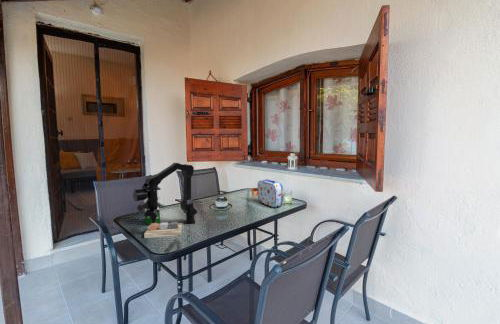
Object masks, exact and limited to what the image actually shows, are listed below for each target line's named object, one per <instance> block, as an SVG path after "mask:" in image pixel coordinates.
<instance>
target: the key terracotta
mask: <svg viewBox="0 0 500 324" xmlns="http://www.w3.org/2000/svg"><path fill="white" fill-rule="evenodd" d="M158 225H159V223H151V224H150V225H149V226H150V231H154V230H157V229H158Z"/></svg>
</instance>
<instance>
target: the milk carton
mask: <svg viewBox="0 0 500 324" xmlns="http://www.w3.org/2000/svg"><path fill="white" fill-rule="evenodd" d="M160 200H161V198H160V196H158V203H160V202H161V201H160ZM146 201H147V198H146V199H145V200H143V203H145V202H146ZM148 210H149V209H148ZM157 210H159V212H158V215H157V218H156V221H155V223H158V224H161V214H160V213H161V212H160V208H159V207H158V208H157ZM145 212H146V209H144V213H145ZM144 223H145V225H148V226H150V224H151V223H152V220H151V217H150V216H146V217H145V216H144Z"/></svg>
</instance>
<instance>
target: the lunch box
mask: <svg viewBox="0 0 500 324" xmlns="http://www.w3.org/2000/svg"><path fill="white" fill-rule="evenodd" d="M283 196H284V188H283V185H282V183H280V182H279V181H276V180H270V179H263V180H259V181H258V182H257V199H258V201H259V202H260V203H261V202H262V204H263V203H264V204H263V205H265V204H266V205H265V206H267V205H268V207H270V206H271V207H270V208H278V207H282V206H283V201H284V198H283ZM277 206H278V207H277Z"/></svg>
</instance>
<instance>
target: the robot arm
mask: <svg viewBox="0 0 500 324" xmlns="http://www.w3.org/2000/svg"><path fill="white" fill-rule="evenodd" d="M178 170H179V171H181V175H182V177H183V199H182V201H180V207H179V208H180V209H181V210H182V212H183V213H184V214H185V224H186V225H189V224H196V219H195V217H196V215H197V214H198V210H197V209H196V208H195V206H194V201H193V200H192V177H193V175H194V171H195V168H194V166H193V165H192V164H187V163H186V164H182V163H180V162H173V163H172V164H170V165H169V166H167V167H166V168H164V169H163V170H161V171H159V172H158V173H156V174H153V175H150V176H148V177H146V178H145V181H144V183H143V185H142V186H141V188H135V189H134V190H133V192H132V193H133V194H132V198H133V201H134V202H139V201H144V200H145V199H146V198H147V201H146V202H145V203H144V202H143V203H140V204H138V205H137V206H136V208H137V209H136V210H138V212H142V211H143V210H144V215H143V216H144V218H145V217H146V216H150V217H151V220H152V223H155V221H156V218H157V215H158V212H159V210H157V208H158V207H159V208H161V207H162V205H161V203H160V202H159V203H158V197H159V196H158V191H160V190H161V187H159V185H160V184H161V183H162V181H163V180H164V179H166V178H167V177H168V176H170V175H172V174H173V173H175V172H176V171H178ZM145 209H146V212H145ZM148 209H149V210H148Z"/></svg>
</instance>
